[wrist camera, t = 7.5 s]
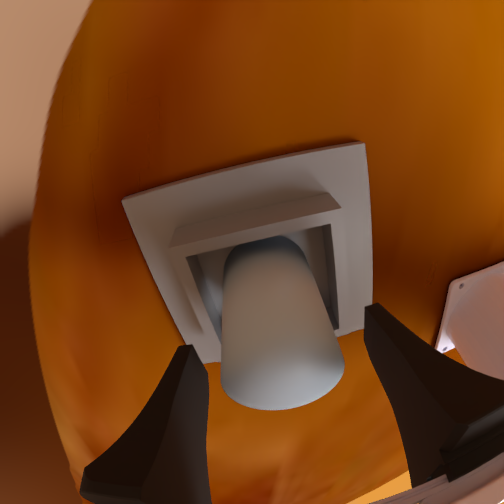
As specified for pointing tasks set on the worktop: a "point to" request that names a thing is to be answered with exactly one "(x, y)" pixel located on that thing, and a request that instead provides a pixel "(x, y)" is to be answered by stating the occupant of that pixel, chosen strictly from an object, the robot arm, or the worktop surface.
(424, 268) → the worktop surface
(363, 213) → the grey square tray
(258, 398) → the cylinder
